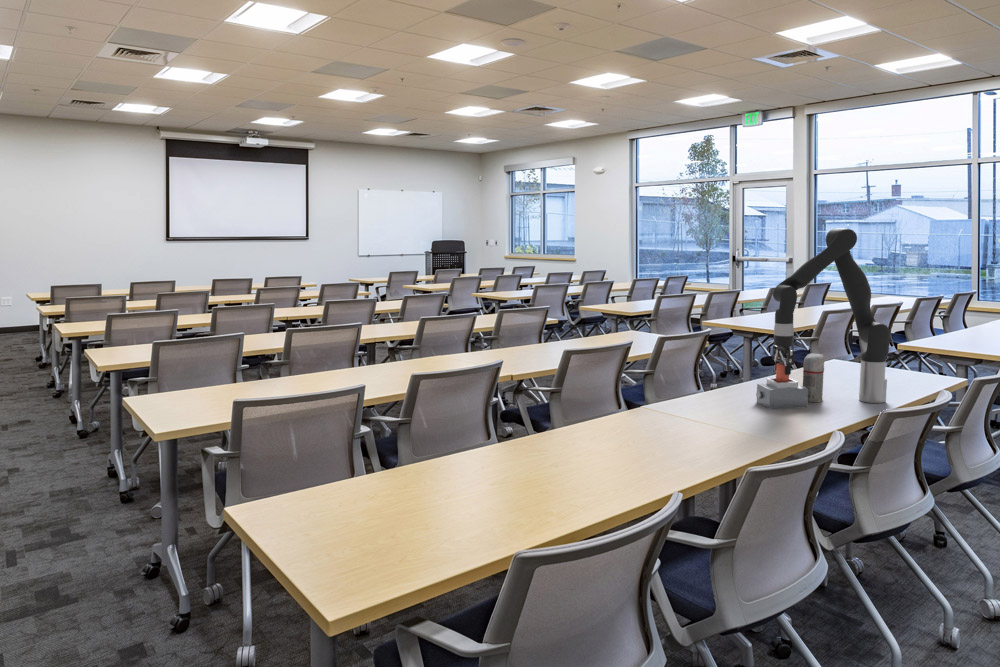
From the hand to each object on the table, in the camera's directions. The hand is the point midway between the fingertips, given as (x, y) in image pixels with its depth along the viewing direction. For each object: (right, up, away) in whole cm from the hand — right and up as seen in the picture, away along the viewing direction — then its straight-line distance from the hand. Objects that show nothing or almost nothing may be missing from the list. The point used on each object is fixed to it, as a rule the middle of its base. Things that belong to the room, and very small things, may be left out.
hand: (782, 372), depth 294 cm
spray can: (+16, -12, +8) cm, 22 cm away
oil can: (0, -5, +1) cm, 6 cm away
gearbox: (0, -14, +2) cm, 14 cm away
